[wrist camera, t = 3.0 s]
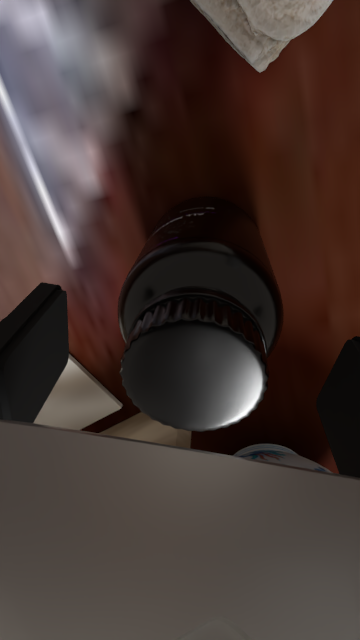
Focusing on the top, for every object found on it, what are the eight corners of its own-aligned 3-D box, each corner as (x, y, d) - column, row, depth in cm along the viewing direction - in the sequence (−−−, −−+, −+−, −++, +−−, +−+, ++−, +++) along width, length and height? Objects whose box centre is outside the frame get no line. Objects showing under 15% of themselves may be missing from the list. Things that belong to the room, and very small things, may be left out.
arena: (193, 404, 27) (188, 470, 22) (46, 474, 34) (17, 537, 29) (23, 221, 21) (-39, 254, 16) (-119, 351, 27) (-195, 405, 22)
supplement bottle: (181, 171, 19) (143, 234, 8) (284, 230, 20) (360, 351, 10) (132, 271, 22) (61, 405, 12) (222, 317, 23) (230, 476, 13)
